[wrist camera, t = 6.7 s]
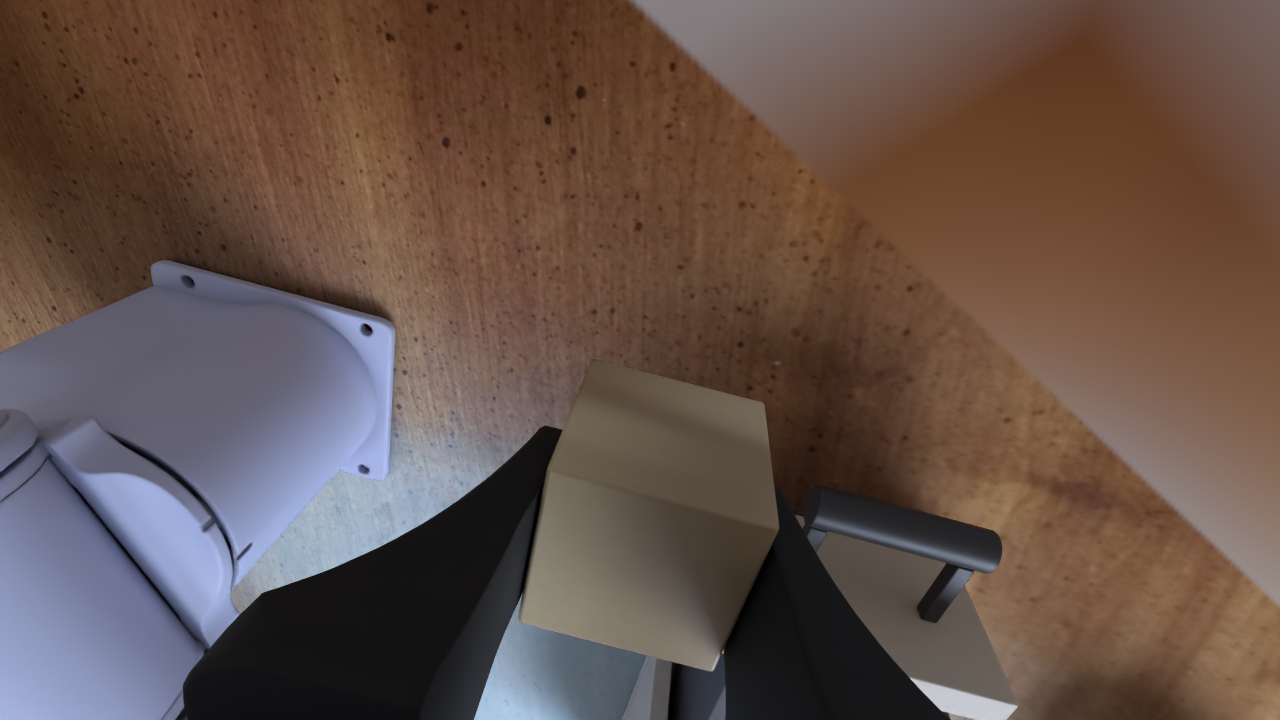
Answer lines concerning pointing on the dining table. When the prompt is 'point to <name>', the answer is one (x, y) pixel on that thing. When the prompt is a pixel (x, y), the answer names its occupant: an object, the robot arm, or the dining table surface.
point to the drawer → (894, 603)
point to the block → (652, 517)
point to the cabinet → (651, 691)
